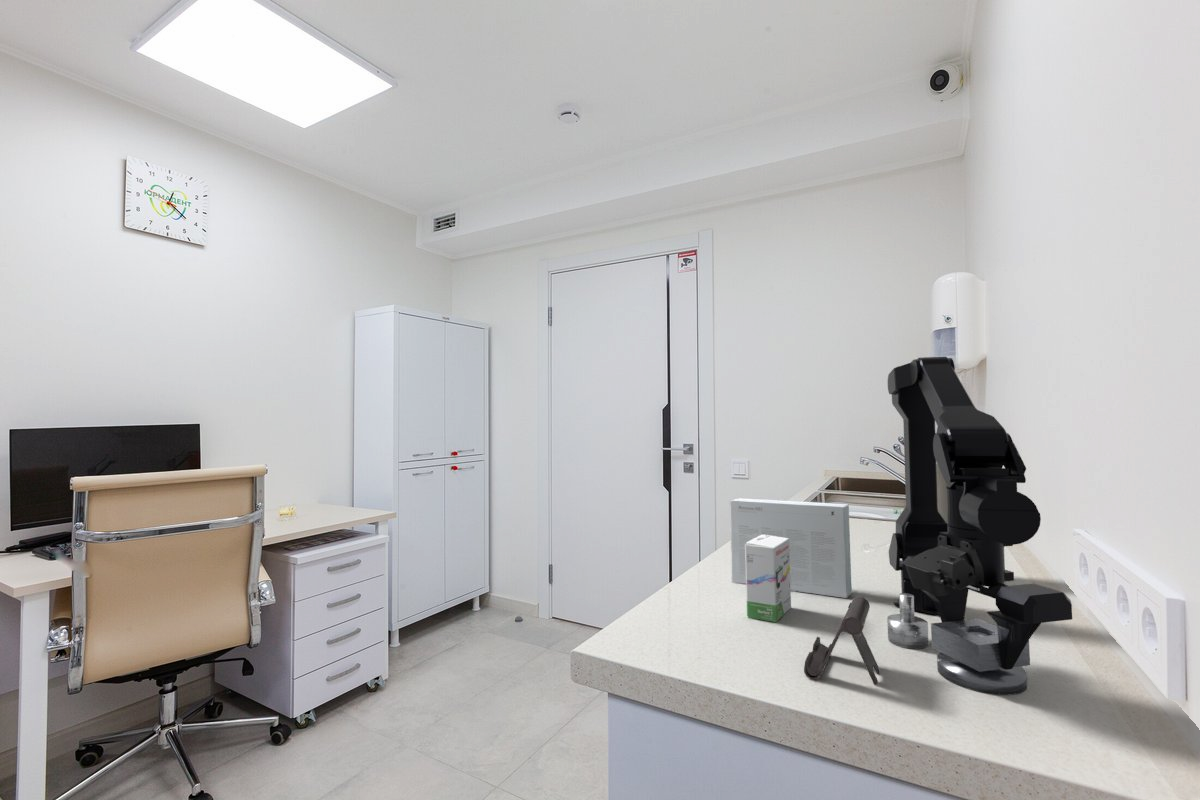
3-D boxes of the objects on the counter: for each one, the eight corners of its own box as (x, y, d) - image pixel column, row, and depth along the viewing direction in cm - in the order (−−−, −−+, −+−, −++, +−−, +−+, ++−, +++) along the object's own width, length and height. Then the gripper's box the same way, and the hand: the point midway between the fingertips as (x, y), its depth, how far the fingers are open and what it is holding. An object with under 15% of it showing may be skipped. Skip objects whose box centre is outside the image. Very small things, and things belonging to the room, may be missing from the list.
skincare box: (853, 591, 103) (850, 503, 103) (847, 599, 98) (845, 507, 98) (739, 575, 114) (737, 496, 114) (730, 582, 109) (728, 500, 110)
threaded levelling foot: (896, 632, 83) (894, 587, 83) (934, 642, 79) (932, 595, 79) (882, 641, 79) (880, 595, 80) (920, 652, 76) (919, 603, 76)
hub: (951, 654, 75) (949, 616, 75) (1035, 677, 68) (1033, 635, 68) (926, 676, 69) (925, 634, 69) (1016, 703, 62) (1014, 657, 62)
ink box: (776, 623, 87) (774, 546, 88) (745, 617, 90) (743, 543, 90) (792, 607, 94) (790, 536, 95) (763, 602, 97) (761, 533, 97)
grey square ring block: (978, 641, 73) (977, 618, 73) (1030, 665, 66) (1029, 639, 66) (931, 647, 71) (931, 623, 71) (979, 671, 64) (978, 645, 65)
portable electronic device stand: (816, 652, 77) (814, 589, 77) (881, 664, 73) (879, 598, 73) (804, 678, 69) (802, 609, 69) (875, 693, 65) (873, 620, 65)
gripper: (865, 517, 77) (869, 633, 76) (986, 547, 58) (992, 701, 58) (936, 512, 79) (940, 625, 78) (1073, 541, 61) (1079, 688, 60)
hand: (979, 655), depth 69 cm, fingers closed on grey square ring block, 7 cm apart
